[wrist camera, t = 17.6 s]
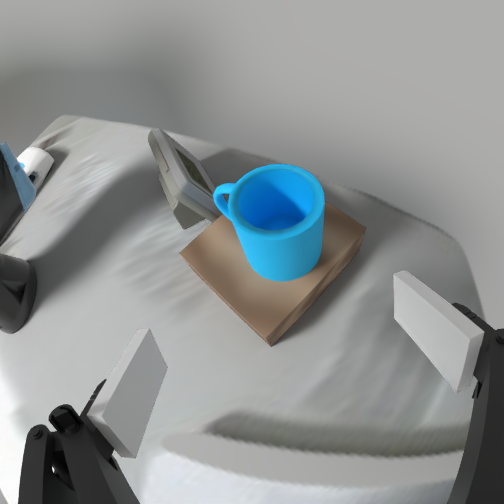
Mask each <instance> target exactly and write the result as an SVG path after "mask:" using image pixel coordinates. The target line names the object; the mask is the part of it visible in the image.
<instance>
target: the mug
mask: <svg viewBox="0 0 504 504" xmlns="http://www.w3.org/2000/svg"><path fill="white" fill-rule="evenodd" d="M223 194H230V195H229V200H228V203H227V201H226V200H225V198H224V195H223ZM213 198H214V202H215V204H216V206H217V207H218V209H219V210H220V211H221V212H222V213H223V214H224V215H225V216H226V217H227V218H228V219H229V220H230V221H232V223H233V225H234V228H235V230H236V233H237V235H238V238H239V240H240V243H241V245H242V248H243V250H244V253H245V255H246V258H247V260H248V262H249V264H250V265H251V267H252V268H253V270H254V271H256V272H257V273H258V274H259V275H261V276H262V277H264V278H267V279H270V280H273V281H291V280H295V279H298V278H301V277H302V276H304V275H305V274H307V273H308V272H310V271H311V270H312V268H313V267H314V266H315V265H316V264H317V262H318V260H319V257H320V254H321V248H322V236H323V222H324V206H325V201H324V191H323V189H322V187H321V185H320V183H319V181H318V180H317V179H316V178H315V177H314V176H313V175H312V174H311V173H310V172H308V171H306V170H304V169H302V168H300V167H297V166H293V165H288V164H270V165H266V166H262V167H259V168H256V169H254V170H252V171H250V172H249V173H247V174H245V175H244V176H243V177H242V178H241V179H240V180H239V181H237V182H236V183H225V184H222V185H220V186H218V187H217V188H216V190H215V191H214V194H213Z"/></svg>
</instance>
